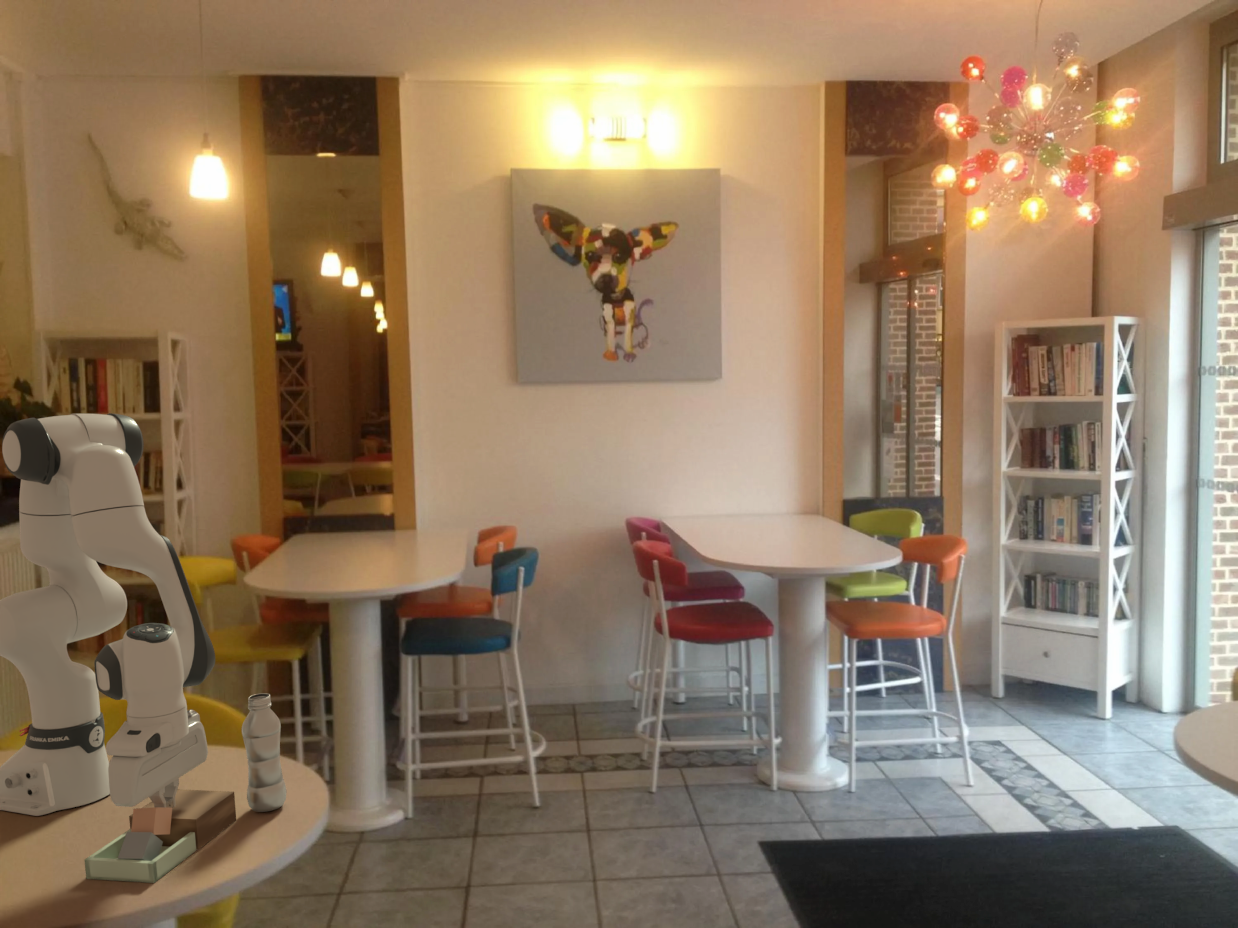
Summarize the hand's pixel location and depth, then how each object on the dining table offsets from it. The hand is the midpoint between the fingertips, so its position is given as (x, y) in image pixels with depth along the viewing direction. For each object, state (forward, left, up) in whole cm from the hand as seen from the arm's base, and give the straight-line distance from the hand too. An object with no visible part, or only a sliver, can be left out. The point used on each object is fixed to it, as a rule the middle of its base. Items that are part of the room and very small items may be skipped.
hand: (165, 810), depth 171 cm
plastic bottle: (+9, +15, -6) cm, 19 cm away
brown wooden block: (0, +5, -6) cm, 8 cm away
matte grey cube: (+1, -7, -1) cm, 7 cm away
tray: (0, -6, -6) cm, 9 cm away
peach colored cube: (+1, -5, -2) cm, 5 cm away
